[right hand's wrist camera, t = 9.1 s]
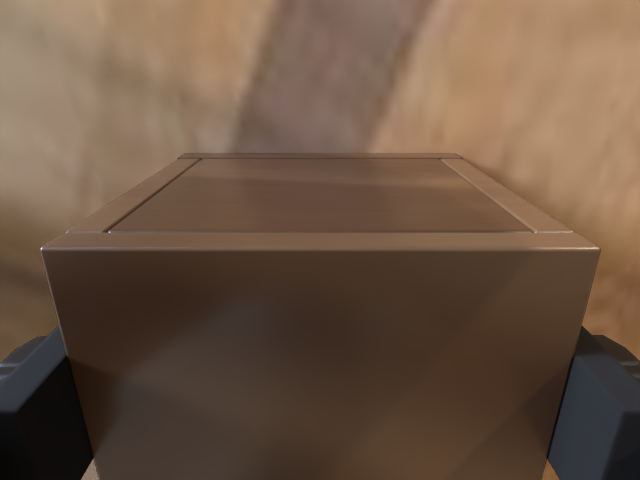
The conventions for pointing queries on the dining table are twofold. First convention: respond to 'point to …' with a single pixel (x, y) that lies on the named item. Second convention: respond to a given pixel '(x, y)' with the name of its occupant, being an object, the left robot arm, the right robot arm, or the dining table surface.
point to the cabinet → (320, 321)
